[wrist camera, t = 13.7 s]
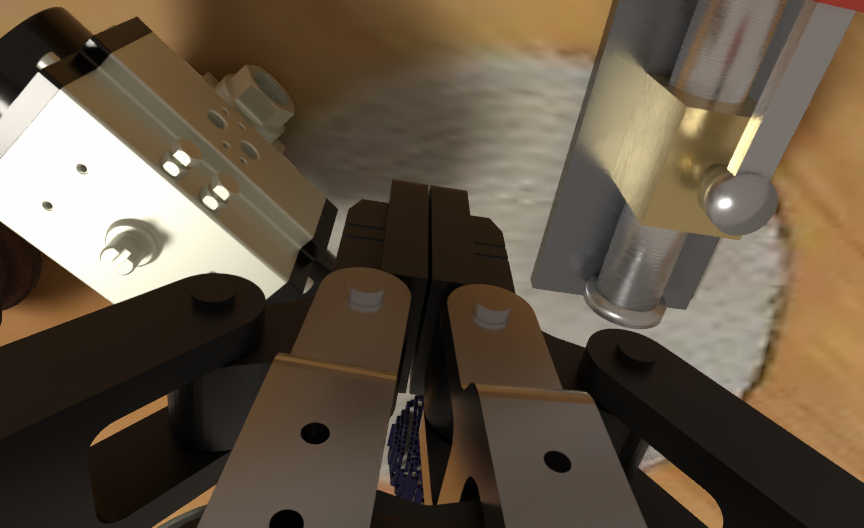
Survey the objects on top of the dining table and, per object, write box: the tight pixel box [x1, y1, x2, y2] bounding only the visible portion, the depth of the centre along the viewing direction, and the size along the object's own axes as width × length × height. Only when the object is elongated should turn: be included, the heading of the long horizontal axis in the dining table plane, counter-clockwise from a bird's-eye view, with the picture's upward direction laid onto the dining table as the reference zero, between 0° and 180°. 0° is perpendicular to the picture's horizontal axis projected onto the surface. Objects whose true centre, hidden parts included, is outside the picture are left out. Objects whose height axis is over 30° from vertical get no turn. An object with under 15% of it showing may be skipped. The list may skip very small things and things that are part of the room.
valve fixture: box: [531, 0, 805, 329], centre depth 37 cm, size 12×26×10 cm, turn 170°
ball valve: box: [0, 7, 338, 304], centre depth 33 cm, size 18×8×18 cm, turn 41°
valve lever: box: [697, 0, 864, 236], centre depth 29 cm, size 16×3×2 cm, turn 169°
